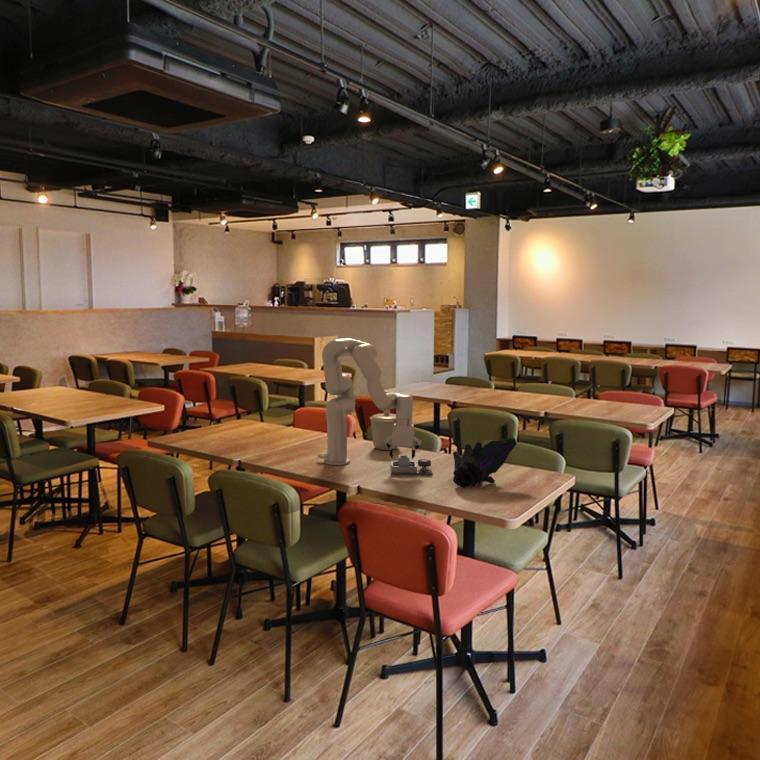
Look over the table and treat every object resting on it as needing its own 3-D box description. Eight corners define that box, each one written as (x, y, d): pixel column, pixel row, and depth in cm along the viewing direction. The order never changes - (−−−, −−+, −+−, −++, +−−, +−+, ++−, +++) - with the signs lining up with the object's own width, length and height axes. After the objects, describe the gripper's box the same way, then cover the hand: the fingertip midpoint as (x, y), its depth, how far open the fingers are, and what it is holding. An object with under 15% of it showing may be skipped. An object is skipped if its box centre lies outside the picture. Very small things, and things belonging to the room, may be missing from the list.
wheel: (418, 466, 288) (418, 462, 288) (417, 463, 294) (417, 459, 294) (431, 466, 288) (431, 462, 288) (430, 463, 294) (430, 459, 294)
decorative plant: (453, 506, 273) (481, 473, 296) (503, 494, 256) (528, 460, 280) (431, 464, 271) (461, 434, 294) (481, 450, 254) (508, 419, 278)
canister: (363, 450, 332) (364, 410, 330) (377, 443, 349) (377, 405, 346) (395, 453, 326) (396, 413, 323) (407, 446, 342) (408, 408, 340)
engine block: (398, 470, 289) (398, 456, 288) (398, 467, 295) (398, 453, 294) (409, 470, 289) (409, 456, 288) (408, 467, 295) (409, 453, 294)
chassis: (390, 475, 286) (390, 467, 285) (390, 468, 298) (390, 460, 297) (432, 475, 286) (432, 467, 285) (430, 468, 298) (431, 461, 297)
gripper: (384, 422, 285) (383, 459, 288) (423, 424, 285) (421, 460, 288) (384, 419, 293) (383, 455, 295) (422, 420, 293) (420, 456, 295)
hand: (402, 457), depth 291 cm, fingers open, 9 cm apart
